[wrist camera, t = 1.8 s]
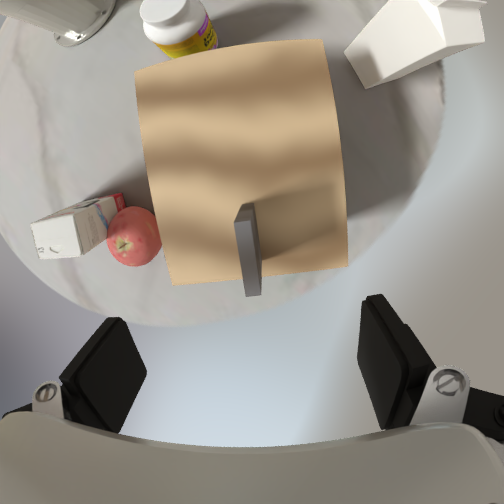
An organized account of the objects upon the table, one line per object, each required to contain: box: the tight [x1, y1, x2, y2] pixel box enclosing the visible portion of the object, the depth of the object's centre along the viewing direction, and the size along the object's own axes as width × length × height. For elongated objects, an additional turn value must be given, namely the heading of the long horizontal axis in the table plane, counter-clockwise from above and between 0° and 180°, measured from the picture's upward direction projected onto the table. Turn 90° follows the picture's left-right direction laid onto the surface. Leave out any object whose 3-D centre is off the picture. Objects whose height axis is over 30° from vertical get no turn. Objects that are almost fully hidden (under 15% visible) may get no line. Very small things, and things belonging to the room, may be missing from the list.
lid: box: [134, 39, 348, 297], centre depth 18 cm, size 20×16×7 cm
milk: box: [344, 0, 487, 89], centre depth 17 cm, size 6×6×22 cm
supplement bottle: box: [140, 0, 218, 59], centre depth 21 cm, size 7×7×13 cm
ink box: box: [31, 193, 126, 259], centre depth 30 cm, size 9×5×12 cm, turn 95°
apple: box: [107, 206, 162, 266], centre depth 32 cm, size 7×7×8 cm
